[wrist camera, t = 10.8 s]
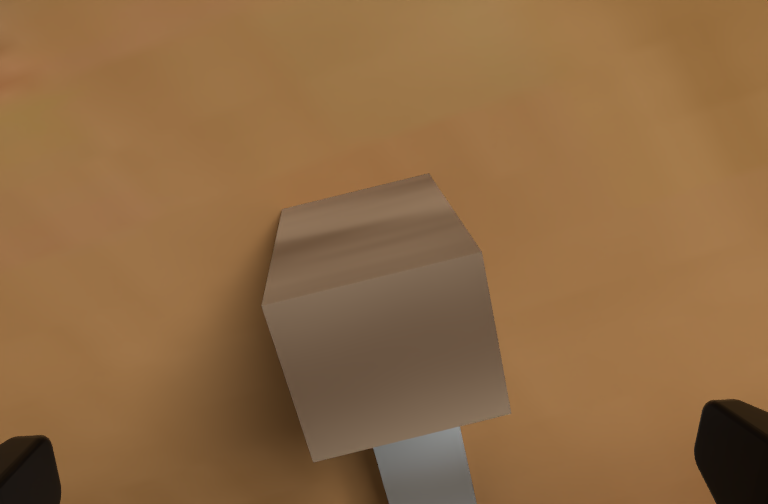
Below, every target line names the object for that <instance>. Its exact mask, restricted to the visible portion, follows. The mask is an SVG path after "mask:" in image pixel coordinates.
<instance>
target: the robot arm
mask: <svg viewBox="0 0 768 504" xmlns="http://www.w3.org/2000/svg"><path fill="white" fill-rule="evenodd" d="M694 455H695V460H696V464H697V466H698V469H699V470H700V472H701V474H702V476H703V478H704V480H705V482H706V484H707V486H708V488H709V490H710V492H711V494H712V496H713V498H714V500H715V502H716V504H768V412H766V411H764V410H761V409H759V408H757V407H754V406H752V405H750V404H747V403H745V402H742V401H740V400H736V399H726V400H711V401H709V402H707V403H706V404H705V405H704V407H703V410H702V414H701V418H700V423H699V428H698V433H697V437H696V442H695V447H694ZM60 500H61V484H60V479H59V475H58V470H57V465H56V461H55V456H54V452H53V447H52V444H51V441H50V440H49V438H47V437H46V436H44V435H36V436H17V437H13V438H10V439H9V440H7V441H5V442H4V443H2V444H0V504H60Z"/></svg>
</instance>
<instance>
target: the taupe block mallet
mask: <svg viewBox="0 0 768 504" xmlns="http://www.w3.org/2000/svg"><path fill="white" fill-rule="evenodd" d="M261 306H262V309H263V312H264V315H265V318H266V321H267V324H268V327H269V330H270V333H271V336H272V339H273V343H274V346H275V349H276V352H277V355H278V358H279V361H280V364H281V367H282V370H283V373H284V376H285V379H286V382H287V385H288V388H289V391H290V394H291V397H292V400H293V403H294V406H295V409H296V412H297V415H298V418H299V421H300V424H301V427H302V430H303V433H304V436H305V439H306V442H307V445H308V448H309V451H310V454H311V457H312V460H313V462H317V461H321V460H325V459H329V458H334V457H338V456H342V455H346V454H350V453H354V452H358V451H362V450H366V449H370V448H373V449H374V453H375V456H376V460H377V463H378V467H379V470H380V474H381V477H382V481H383V485H384V488H385V492H386V495H387V499H388V502H389V504H477V503H476V498H475V494H474V489H473V485H472V480H471V476H470V471H469V467H468V462H467V458H466V453H465V448H464V444H463V439H462V435H461V430H460V426H463V425H467V424H472V423H476V422H480V421H484V420H488V419H492V418H496V417H500V416H504V415H508V414H511V409H510V404H509V398H508V393H507V387H506V382H505V376H504V371H503V365H502V360H501V354H500V349H499V343H498V338H497V332H496V327H495V321H494V316H493V310H492V305H491V299H490V294H489V288H488V283H487V278H486V272H485V267H484V261H483V256H482V251H481V250H480V248H479V247H478V245H477V244H476V242H475V241H474V240H473V238H472V237H471V235H470V234H469V232H468V231H467V229H466V228H465V226H464V225H463V223H462V222H461V220H460V219H459V217H458V216H457V214H456V213H455V211H454V210H453V208H452V207H451V205H450V204H449V202H448V201H447V200H446V198H445V197H444V195H443V194H442V192H441V191H440V189H439V188H438V186H437V185H436V183H435V182H434V180H433V179H432V177H431V176H430V174H429V173H428V174H424V175H420V176H416V177H412V178H408V179H404V180H400V181H396V182H392V183H388V184H383V185H379V186H375V187H371V188H367V189H363V190H359V191H355V192H351V193H347V194H343V195H338V196H334V197H330V198H326V199H322V200H318V201H314V202H310V203H306V204H302V205H298V206H294V207H289V208H285V209H282V212H281V217H280V222H279V226H278V231H277V236H276V240H275V245H274V250H273V254H272V259H271V264H270V268H269V273H268V278H267V282H266V287H265V291H264V296H263V301H262V305H261Z"/></svg>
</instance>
